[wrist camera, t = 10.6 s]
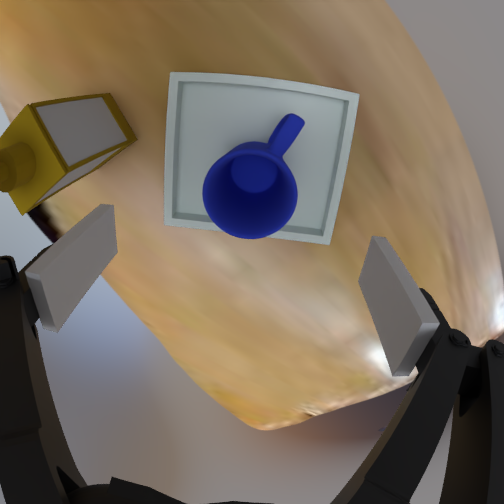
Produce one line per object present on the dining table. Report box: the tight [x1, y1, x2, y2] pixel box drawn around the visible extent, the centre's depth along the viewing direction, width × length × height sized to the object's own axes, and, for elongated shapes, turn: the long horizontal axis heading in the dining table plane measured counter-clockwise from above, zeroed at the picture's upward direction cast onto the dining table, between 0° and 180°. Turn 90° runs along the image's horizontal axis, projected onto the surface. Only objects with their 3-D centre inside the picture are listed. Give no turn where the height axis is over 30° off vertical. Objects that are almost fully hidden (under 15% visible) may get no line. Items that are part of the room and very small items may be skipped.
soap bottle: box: [0, 93, 137, 216], centre depth 23 cm, size 7×13×24 cm, turn 28°
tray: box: [164, 72, 360, 245], centre depth 34 cm, size 18×20×3 cm
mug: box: [202, 113, 305, 239], centre depth 30 cm, size 8×12×10 cm
